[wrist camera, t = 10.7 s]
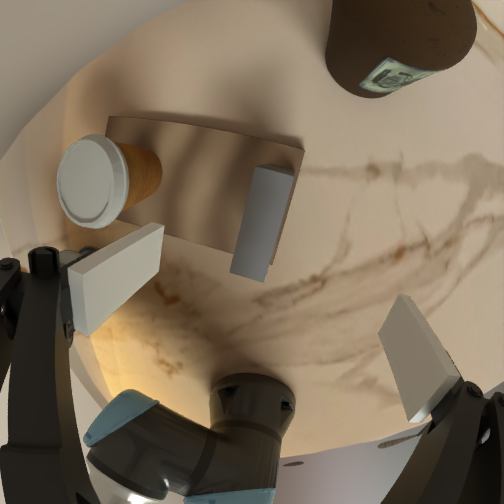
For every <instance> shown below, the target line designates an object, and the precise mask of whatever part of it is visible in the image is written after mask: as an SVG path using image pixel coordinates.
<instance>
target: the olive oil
mask: <svg viewBox="0 0 504 504" xmlns="http://www.w3.org/2000/svg"><path fill="white" fill-rule="evenodd" d="M476 32H477V22H476V16H475V12H474V8H473V6H472V3H471V0H333V4H332V14H331V23H330V31H329V37H328V43H327V48H326V64H327V68H328V70H329V72H330V74H331V76H332V77H333V78H334V80H335V81H336V82H337V83H338V84H339V85H340V86H341V87H342V88H344V89H345V90H347V91H348V92H350V93H352V94H354V95H357V96H360V97H364V98H380V97H383V96H386V95H388V94H390V93H392V92H394V91H396V90H398V89H400V88H402V87H404V86H406V85H408V84H411V83H413V82H415V81H417V80H420V79H422V78H425V77H427V76H430V75H432V74H435V73H437V72H440V71H443V70H445V69H448V68H450V67H452V66H454V65H455V64H457V63H458V62H460V61H461V60H462V59H463V58H464V57H465V56H466V55H467V53H468V52H469V50H470V49H471V47H472V45H473V43H474V41H475V37H476Z"/></svg>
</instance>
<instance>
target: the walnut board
mask: <svg viewBox="0 0 504 504" xmlns="http://www.w3.org/2000/svg"><path fill="white" fill-rule="evenodd" d="M105 137H106V138H109V139H110V140H111V141H114V142H119V143H124V144H128V145H133V146H137V147H141V148H145V149H149V150H151V151H153V152H154V153H155V154H156V155H157V157H158V158H159V160H160V162H161V166H162V171H163V175H162V180H161V184H160V186H159V188H158V189H157V191H156V192H155V193H154V194H152V195H151V196H149V197H147V198H145V199H144V200H142V201H140V202H138V203H137V204H135V205H133V206H132V207H130V208H128V209H127V210H125V211H123V212H121V213H120V214H119V215H118V216H117V217H116V218H115V219H117V220H121V221H124V222H127V223H131V224H134V225H137V226H141V227H143V226H145V225H147V224H149V223H151V222H154V223H157V224H161V225H164V234H167V235H171V236H174V237H177V238H181V239H184V240H188V241H191V242H194V243H198V244H201V245H204V246H208V247H211V248H215V249H218V250H221V251H225V252H228V253H232V254H234V255H233V260H232V264H231V268H230V273H233V274H236V275H240V276H243V277H247V278H250V279H253V280H257V281H260V282H264V280H265V277H266V274H267V270H268V267H269V264H270V265H272V264H273V261H274V258H275V254H276V251H277V247H278V244H279V241H280V237H281V234H282V230H283V227H284V224H285V220H286V217H287V213H288V210H289V206H290V203H291V199H292V196H293V192H294V189H295V185H296V181H297V178H298V174H299V171H300V167H301V163H302V160H303V156H304V152H305V150H302V149H298V148H295V147H291V146H287V145H284V144H280V143H276V142H272V141H268V140H264V139H260V138H255V137H251V136H247V135H242V134H237V133H233V132H228V131H223V130H217V129H212V128H206V127H200V126H194V125H188V124H181V123H174V122H167V121H159V120H150V119H140V118H129V117H116V116H109V119H108V124H107V129H106V134H105Z"/></svg>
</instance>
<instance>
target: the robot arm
mask: <svg viewBox="0 0 504 504" xmlns="http://www.w3.org/2000/svg"><path fill="white" fill-rule="evenodd" d="M163 233H164V225H161V224H157V223H154V222H151V223H149V224H147V225H145V226H143V227H141V228H139V229H138V230H136V231H134V232H132V233H130V234H128V235H126V236H124V237H122V238H120V239H118V240H116V241H115V242H113V243H111V244H109V245H107V246H105V247H104V248H102V249H97V250H93V251H89V252H87V253H85V254H84V255H82V257H81V256H80V257H78V258H76V260H73V261H71V262H69V263H68V264H66V265H64V266H62V267H61V268H60V256H59V251H58V250H57V249H56V248H53V247H47V246H44V247H38V248H35V249H33V250H31V251H30V252H29V253H28V260H29V268H30V273H25V272H21V267H20V261H19V260H17V259H15V258H3V259H2V260H0V391H1V388H2V385H3V382H4V379H5V377H6V374H7V371H8V369H9V366H10V364H11V369H10V379H9V393H8V443H7V444H6V445H3V446H1V448H0V472H1V479H2V486H3V492H4V497H5V502H6V504H151V503H156V502H161V501H163V500H164V498H165V497H166V495H167V493H168V491H172V492H175V493H178V494H180V495H182V496H184V497H185V498H184V499H183V501H184V504H273V500H274V496H275V493H276V491H277V489H276V483H277V475H278V468H279V459H280V451H281V442H282V438H283V436H284V434H285V433H286V431H287V429H288V427H289V425H290V423H291V421H292V419H293V417H294V414H295V404H296V401H295V397H294V395H293V393H292V392H291V390H290V389H289V388H288V387H286V386H285V385H284V384H282V383H281V382H279V381H277V380H275V379H272V378H270V377H266V376H263V375H257V374H235V375H230V376H227V377H225V378H223V379H221V380H219V381H218V382H217V383H216V384H215V386H214V388H213V390H212V393H211V395H210V400H209V406H210V421H211V427H210V429H208V428H206V427H204V426H202V425H200V424H198V423H196V422H194V421H192V420H190V419H188V418H186V417H184V416H182V415H180V414H178V413H176V412H175V411H173V410H171V409H169V408H167V407H165V406H164V405H162V404H160V403H159V402H160V401H158V400H153V399H152V398H150V397H148V396H146V395H144V394H142V393H141V392H139V391H137V390H134V389H128V390H125V391H123V392H121V393H120V394H118V395H117V396H116V397H115V398H114V399H113V400H112V401H111V402H110V403H109V404H108V405H107V406H106V407H105V408H104V409H103V411H102V412H101V413H100V414H99V415H98V416H97V418H96V419H95V420H94V422H93V423H92V424H91V426H90V427H89V429H88V431H87V432H86V434H85V435H84V437H83V441H84V443H85V444H86V446H87V447H91V449H90V451H89V453H88V455H87V457H86V461H87V463H88V465H89V468H90V472H91V473H90V475H89V474H88V471H87V468H86V464H85V460H84V456H83V452H82V448H81V443H80V438H79V434H78V428H77V424H76V417H75V411H74V404H73V397H72V389H71V379H70V366H69V346H68V325H67V322H68V321H69V320H70V319H72V318H73V322H74V328H75V330H77V331H79V332H81V333H83V334H84V335H86V336H88V337H89V336H90V335H91V334H92V333H93V332H94V331H95V330H96V329H97V328H98V327H99V326H100V325H101V324H102V323H103V322H105V321H106V320H107V319H108V318H109V317H110V316H111V315H112V314H113V313H114V312H115V311H116V310H117V309H118V308H119V307H120V306H121V305H123V304H124V303H125V302H126V301H127V300H128V299H129V298H130V297H131V296H132V295H133V294H134V293H136V292H137V291H138V290H139V289H140V288H141V287H142V286H143V285H144V284H145V283H147V282H148V281H149V280H150V279H151V278H152V277H153V276H154V275H155V274H157V273H158V272H159V265H160V257H161V248H162V240H163ZM2 309H3V311H2V312H1V310H2ZM378 334H379V337H380V339H381V342H382V345H383V347H384V350H385V353H386V355H387V358H388V361H389V364H390V366H391V369H392V372H393V375H394V378H395V381H396V384H397V387H398V390H399V393H400V396H401V399H402V402H403V405H404V409H405V412H406V415H407V419H408V422H422V421H423V420H424V419H425V418H426V417H427V416H428V415H429V414H430V413H431V416H432V420H431V421H430V422H429V423H428V424H427V425H426V426H425V427H424V428H423V429H422V430H421V431H420V432H419V433H418V434H417V436H419V435H420V434H422V436H421V438H420V440H419V443H418V444H417V446H416V448H415V450H414V452H413V454H412V455H411V457H410V459H409V461H408V462H407V464H406V466H405V467H404V469H403V471H402V473H401V474H400V476H399V477H398V479H397V480H396V482H395V484H394V485H393V487H392V488H391V489H390V491H389V492H388V494H387V495H386V497H385V498H384V499H383V501H382V502H381V504H504V394H502V393H501V392H495V393H494V395H493V396H492V397H491V398H490V399H486V398H484V397H483V393H482V391H481V389H480V388H479V387H478V386H477V385H476V384H474V383H472V382H470V381H466V382H465V381H464V380H463V378H462V376H461V374H460V373H459V371H458V369H457V367H456V366H455V365H454V362H453V360H451V357H450V355H449V354H448V352H447V351H446V350H445V349H444V347H443V345H442V344H441V342H440V341H439V339H438V337H437V336H436V334H435V333H434V331H433V330H432V328H431V327H430V325H429V324H428V322H427V321H426V319H425V318H424V316H423V315H422V313H421V312H420V310H419V309H418V307H417V306H416V304H415V303H414V302H413V300H412V299H411V297H410V296H407V295H404V294H400V293H399V294H398V296H397V298H396V301H395V303H394V305H393V307H392V309H391V310H390V312H389V314H388V316H387V318H386V320H385V322H384V324H383V326H382V328H381V329H380V331H379V333H378ZM489 432H490V436H489V438H488V439H487V440H486V441H485V442H484V443H483V444H482V439H483V438H484V437H485V436H486V435H487V434H488V433H489Z"/></svg>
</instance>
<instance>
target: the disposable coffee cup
mask: <svg viewBox="0 0 504 504" xmlns="http://www.w3.org/2000/svg"><path fill="white" fill-rule="evenodd" d="M162 175H163V171H162V166H161V162H160V160H159V158H158V157H157V155H156V154H155V153H154V152H153V151H151V150H149V149H145V148H141V147H137V146H133V145H128V144H124V143H119V142H114V141H111V140H110V139H109V138H106V137H104V136H102V135H97V134H95V135H88V136H85V137H83V138H82V139H80V140H79V141H77V142H75V143H73V144H72V145H71V146H70V147H69V148H68V149H67V150H66V151H65V153H64V155H63V156H62V158H61V160H60V164H59V167H58V170H57V179H56V186H57V193H58V198H59V202H60V204H61V207H62V209H63V211H64V212H65V214H66V215H67V217H68V218H69V219H70V220H71V221H72V222H74V223H75V224H77V225H78V226H82V227H88V228H93V229H98V228H103V227H105V226H107V225H109V224H110V223H112V222H113V221H114V220H115V218H116V217H117V216H118V215H119V214H120V213H121V212H123V211H125V210H127V209H128V208H130V207H132V206H133V205H135V204H137V203H138V202H140V201H142V200H144V199H145V198H147V197H149V196H151V195H152V194H154V193H155V192H156V191H157V189H158V188H159V186H160V184H161V180H162Z"/></svg>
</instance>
